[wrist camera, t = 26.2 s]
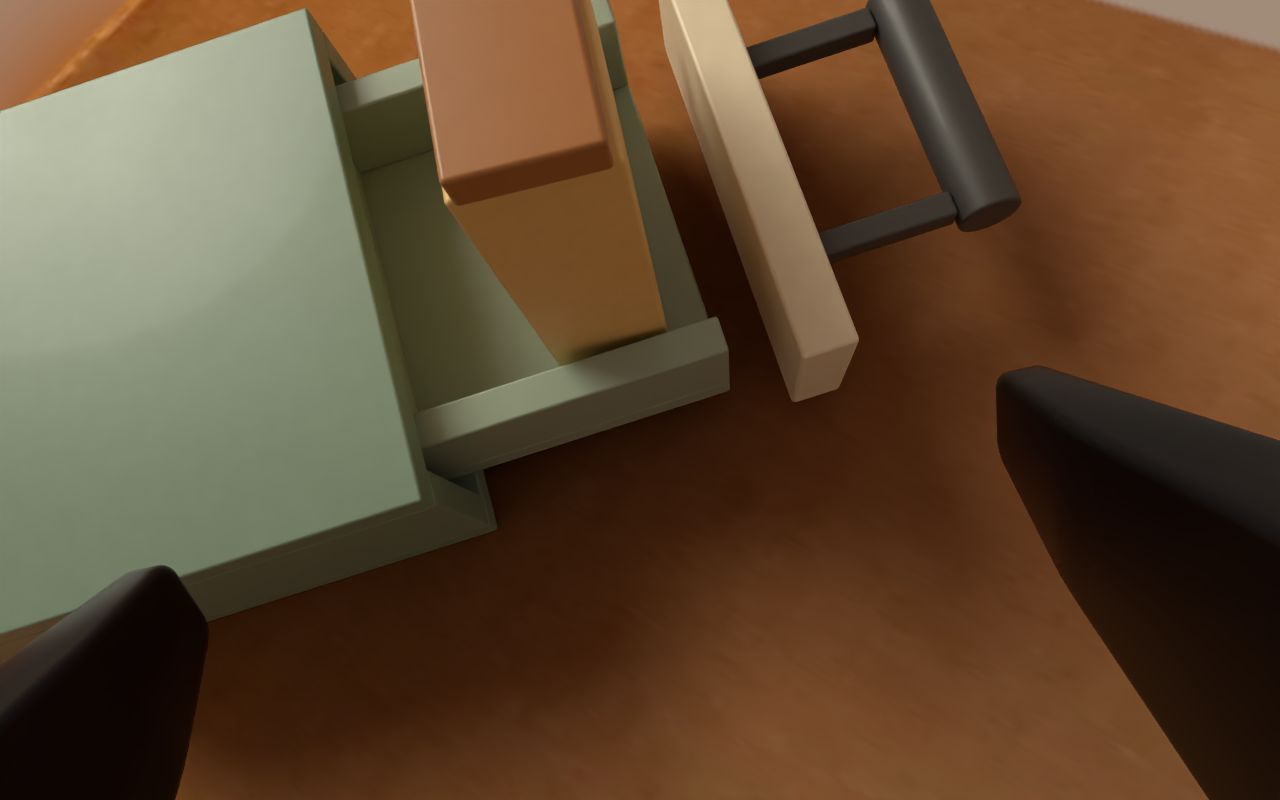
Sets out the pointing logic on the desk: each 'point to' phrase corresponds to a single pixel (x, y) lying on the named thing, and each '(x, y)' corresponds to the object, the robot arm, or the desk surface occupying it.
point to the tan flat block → (540, 166)
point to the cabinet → (201, 341)
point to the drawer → (655, 235)
